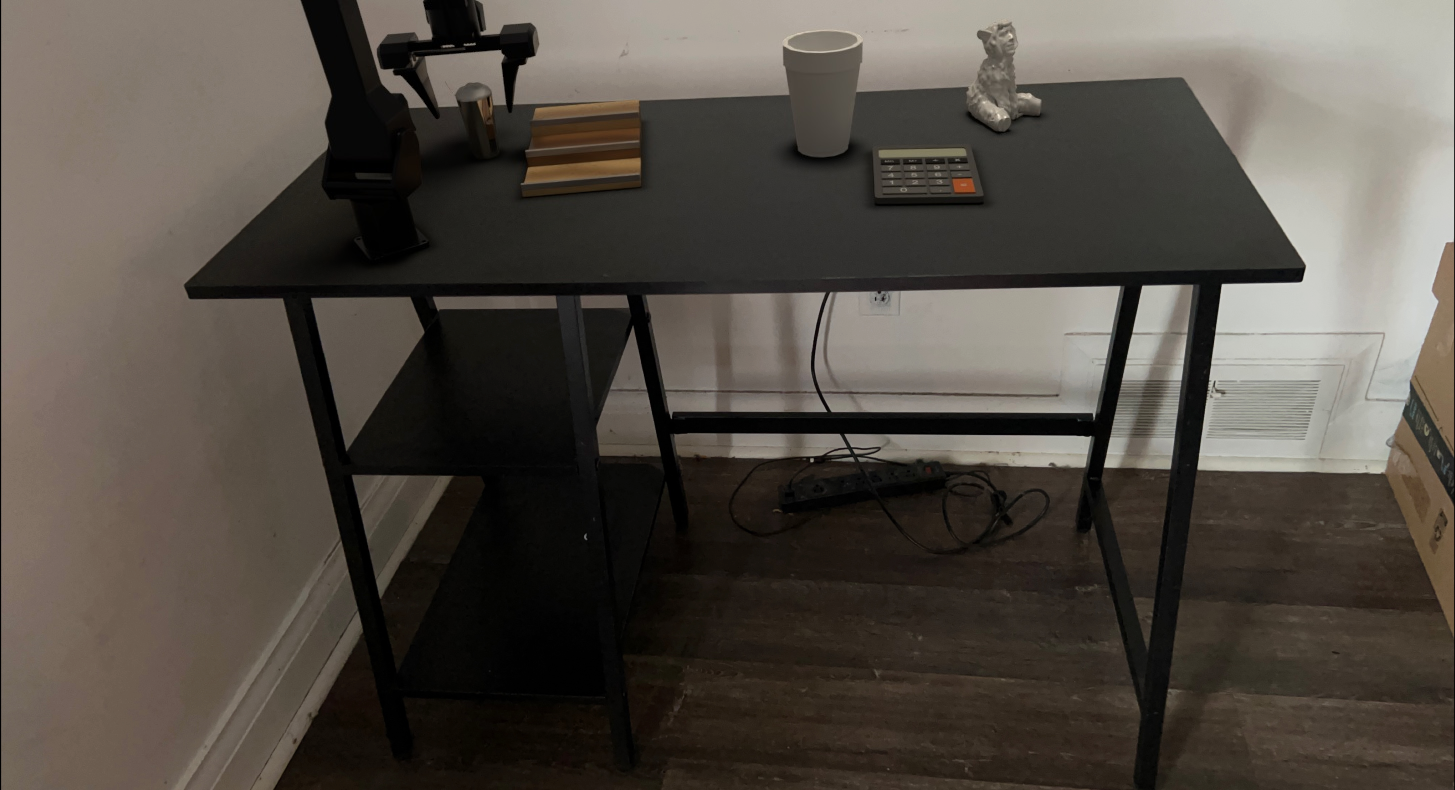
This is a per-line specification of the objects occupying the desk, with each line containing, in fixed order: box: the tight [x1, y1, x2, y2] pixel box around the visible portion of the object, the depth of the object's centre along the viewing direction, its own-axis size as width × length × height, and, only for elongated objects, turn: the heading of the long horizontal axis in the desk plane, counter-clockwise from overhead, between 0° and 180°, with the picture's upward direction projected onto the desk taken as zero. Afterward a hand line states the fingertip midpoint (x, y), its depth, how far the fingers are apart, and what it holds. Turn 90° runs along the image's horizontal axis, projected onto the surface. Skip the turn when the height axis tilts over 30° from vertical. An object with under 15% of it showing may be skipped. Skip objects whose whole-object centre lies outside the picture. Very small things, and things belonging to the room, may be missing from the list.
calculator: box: [872, 143, 985, 205], centre depth 110 cm, size 12×1×15 cm
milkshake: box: [444, 81, 500, 160], centre depth 121 cm, size 4×5×10 cm
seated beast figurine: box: [965, 18, 1043, 133], centre depth 121 cm, size 10×9×12 cm
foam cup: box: [782, 29, 864, 158], centre depth 116 cm, size 10×9×13 cm
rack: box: [520, 99, 643, 198], centre depth 120 cm, size 22×14×4 cm, turn 4°
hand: (474, 115), depth 121 cm, fingers open, 9 cm apart
